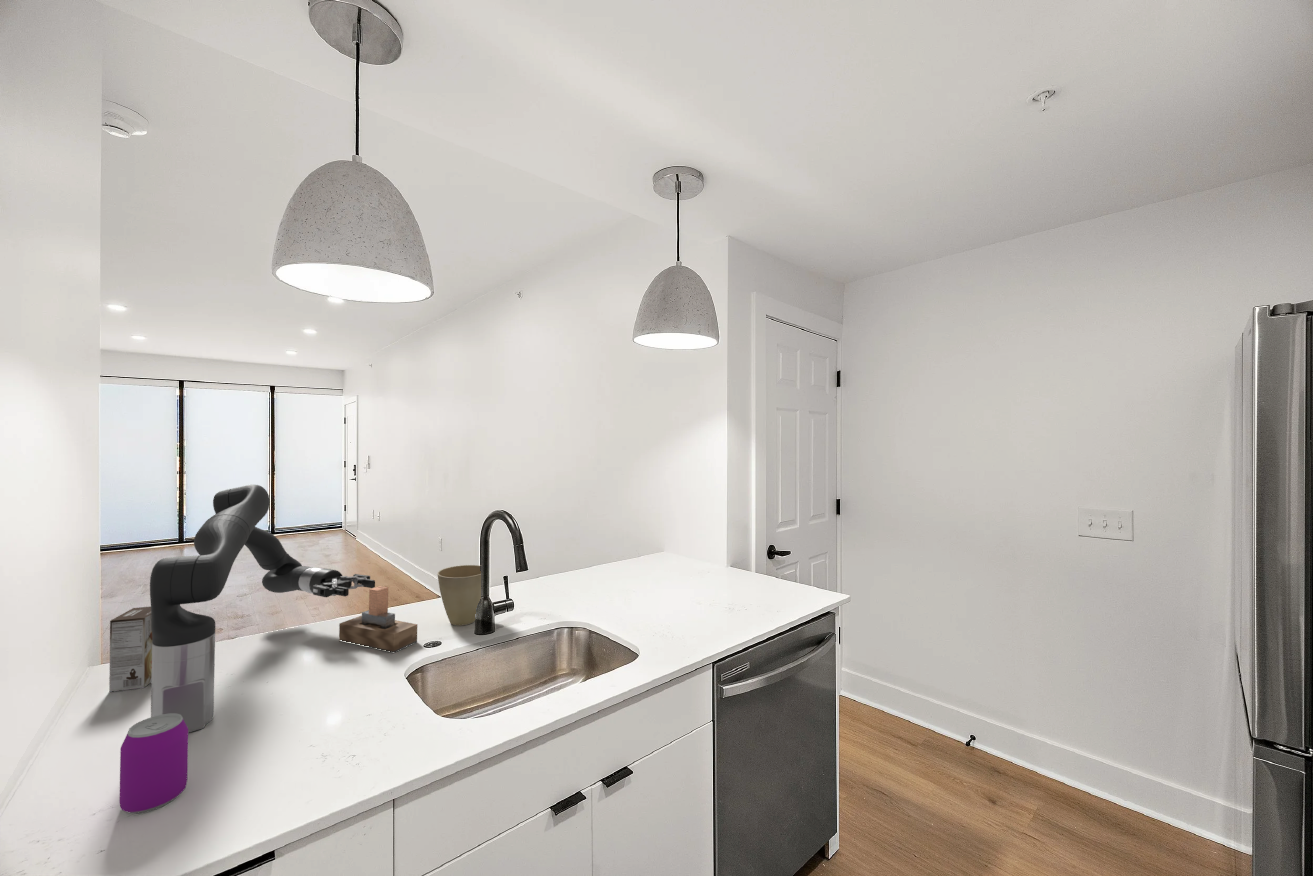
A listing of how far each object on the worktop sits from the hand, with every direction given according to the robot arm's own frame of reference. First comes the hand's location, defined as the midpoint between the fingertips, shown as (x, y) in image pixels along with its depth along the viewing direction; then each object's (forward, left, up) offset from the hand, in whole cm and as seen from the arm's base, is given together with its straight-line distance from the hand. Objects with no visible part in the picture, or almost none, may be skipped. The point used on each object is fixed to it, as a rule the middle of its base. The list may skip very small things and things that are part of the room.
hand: (361, 588), depth 147 cm
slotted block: (-6, -3, -14) cm, 16 cm away
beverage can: (-52, +40, -14) cm, 67 cm away
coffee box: (+3, +45, -14) cm, 47 cm away
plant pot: (-5, -27, -14) cm, 31 cm away
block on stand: (-6, -3, -14) cm, 15 cm away
